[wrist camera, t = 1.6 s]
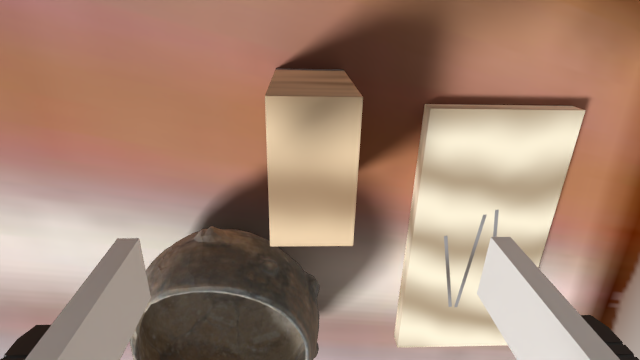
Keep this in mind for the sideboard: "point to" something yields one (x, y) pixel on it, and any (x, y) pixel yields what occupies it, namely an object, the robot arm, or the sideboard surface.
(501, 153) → the board
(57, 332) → the robot arm
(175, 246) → the bowl
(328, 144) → the block
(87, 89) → the sideboard surface
